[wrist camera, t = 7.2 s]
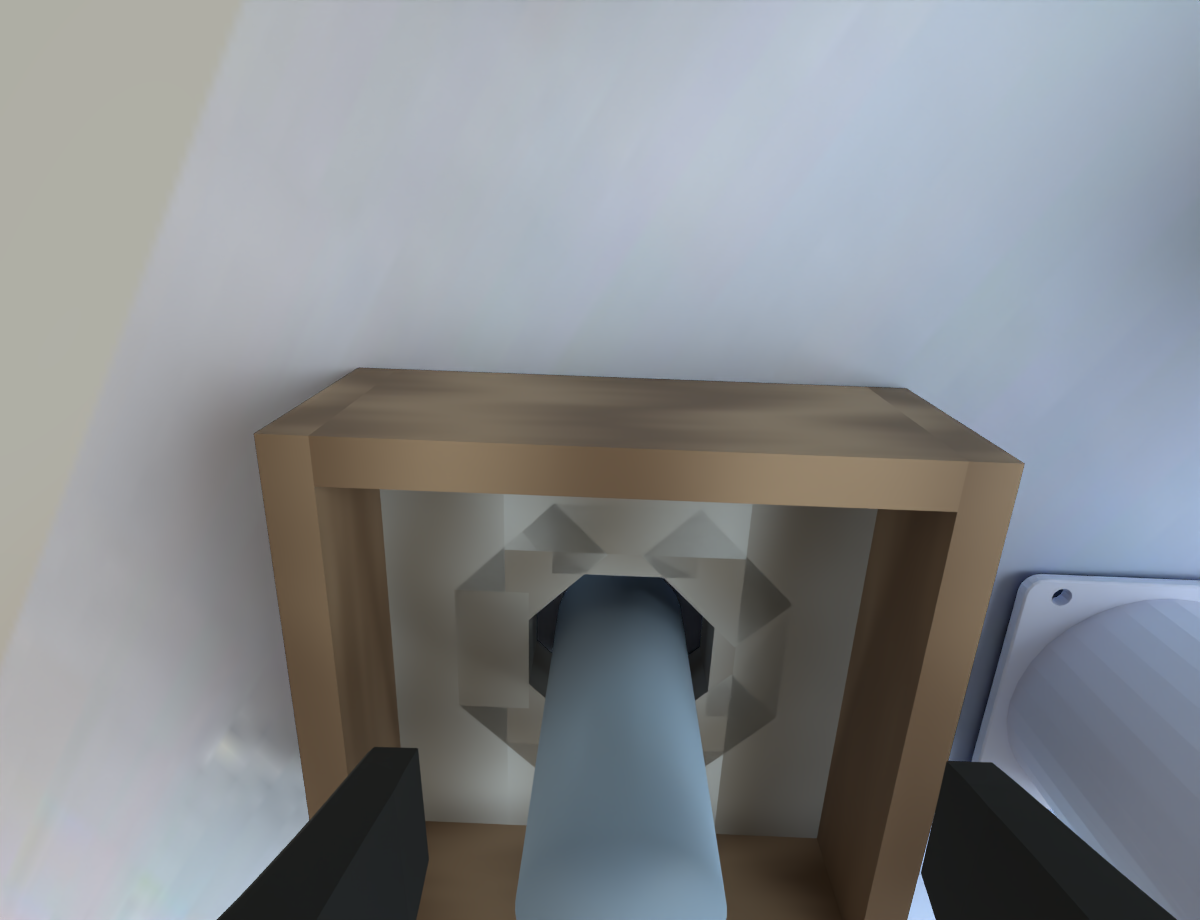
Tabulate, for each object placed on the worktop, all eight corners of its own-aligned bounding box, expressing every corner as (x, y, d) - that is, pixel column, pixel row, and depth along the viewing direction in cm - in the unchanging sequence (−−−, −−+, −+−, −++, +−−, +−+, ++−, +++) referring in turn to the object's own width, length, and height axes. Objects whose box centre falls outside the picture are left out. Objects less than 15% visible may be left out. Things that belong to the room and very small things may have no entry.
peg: (692, 573, 20) (747, 848, 11) (669, 678, 21) (704, 996, 13) (565, 556, 20) (525, 820, 11) (551, 662, 21) (505, 973, 12)
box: (906, 388, 18) (1025, 463, 13) (826, 810, 23) (888, 990, 17) (358, 367, 18) (253, 433, 13) (395, 791, 23) (330, 963, 18)
